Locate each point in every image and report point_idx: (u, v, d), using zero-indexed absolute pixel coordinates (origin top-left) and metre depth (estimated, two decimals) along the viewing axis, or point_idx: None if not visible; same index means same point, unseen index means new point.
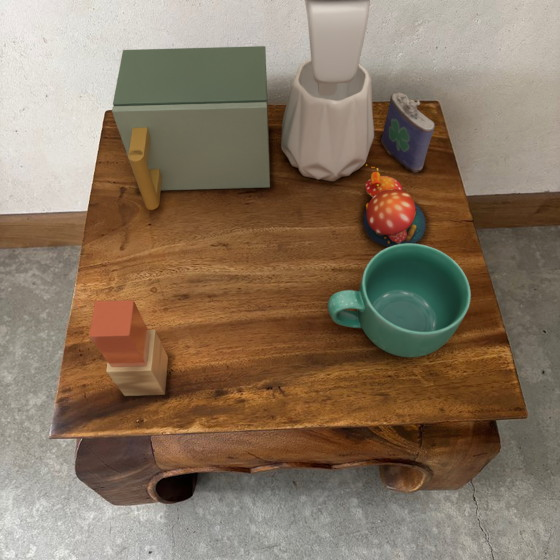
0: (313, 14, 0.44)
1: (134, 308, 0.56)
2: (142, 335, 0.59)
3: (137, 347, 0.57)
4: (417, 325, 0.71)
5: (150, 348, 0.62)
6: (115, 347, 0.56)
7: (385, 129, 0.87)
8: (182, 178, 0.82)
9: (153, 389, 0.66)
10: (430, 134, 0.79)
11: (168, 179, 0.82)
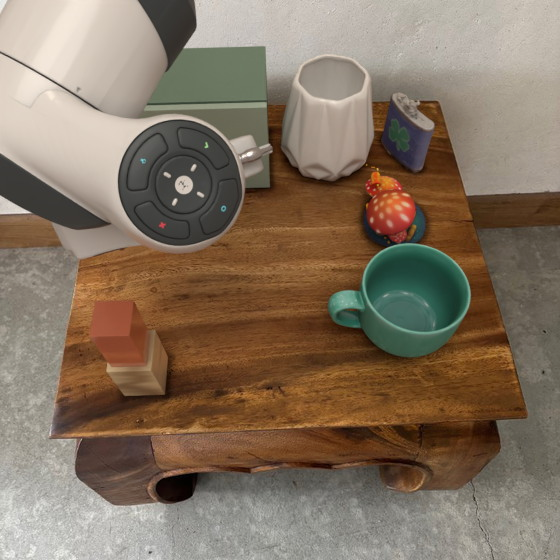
0: None
1: (134, 308, 0.56)
2: (142, 335, 0.59)
3: (137, 347, 0.57)
4: (417, 325, 0.71)
5: (150, 348, 0.62)
6: (115, 347, 0.56)
7: (385, 129, 0.87)
8: None
9: (153, 389, 0.66)
10: (430, 134, 0.79)
11: None
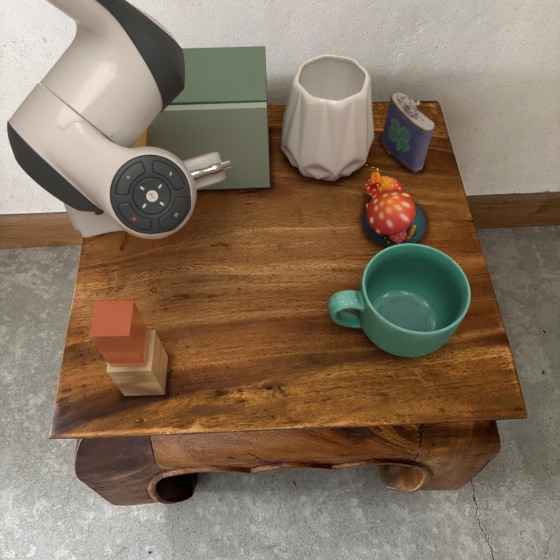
0: None
1: (134, 308, 0.56)
2: (142, 335, 0.59)
3: (137, 347, 0.57)
4: (417, 325, 0.71)
5: (150, 348, 0.62)
6: (115, 347, 0.56)
7: (385, 129, 0.87)
8: None
9: (153, 389, 0.66)
10: (430, 134, 0.79)
11: None
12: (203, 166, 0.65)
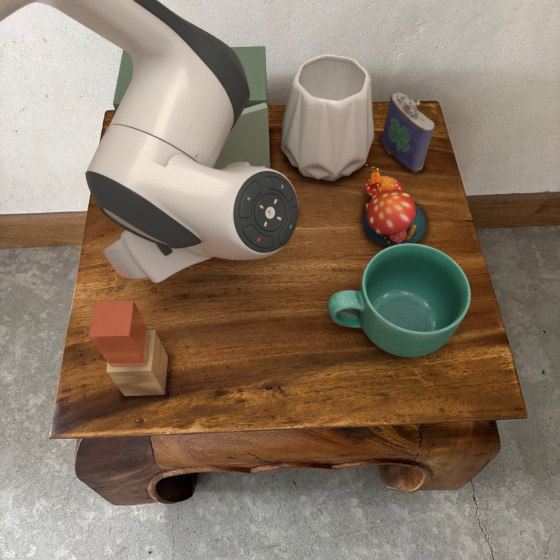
0: (118, 245, 0.58)
1: (134, 308, 0.56)
2: (142, 335, 0.59)
3: (137, 347, 0.57)
4: (417, 325, 0.71)
5: (150, 348, 0.62)
6: (115, 347, 0.56)
7: (385, 129, 0.87)
8: None
9: (153, 389, 0.66)
10: (430, 134, 0.79)
11: None
12: None
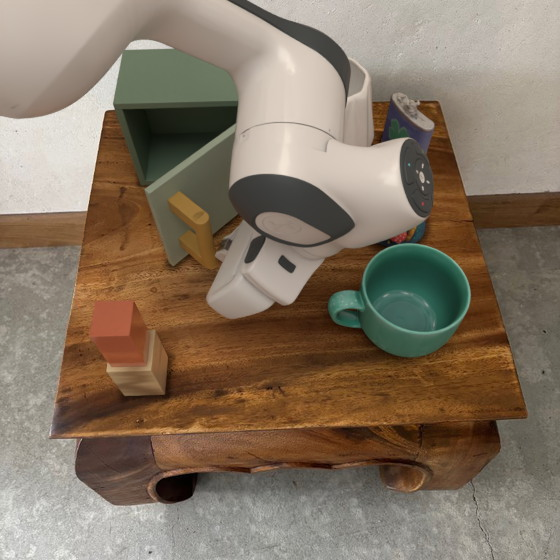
0: (238, 284, 0.55)
1: (134, 308, 0.56)
2: (142, 335, 0.59)
3: (137, 347, 0.57)
4: (417, 325, 0.71)
5: (150, 348, 0.62)
6: (115, 347, 0.56)
7: (385, 129, 0.87)
8: None
9: (153, 389, 0.66)
10: (430, 134, 0.79)
11: (196, 235, 0.77)
12: None
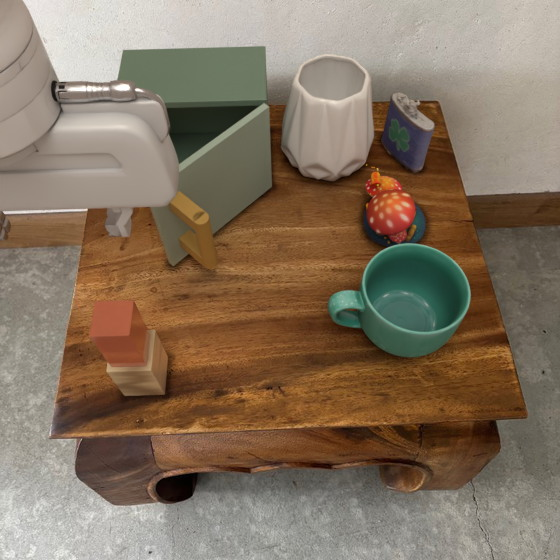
0: None
1: (134, 308, 0.56)
2: (142, 335, 0.59)
3: (137, 347, 0.57)
4: (417, 325, 0.71)
5: (150, 348, 0.62)
6: (115, 347, 0.56)
7: (385, 129, 0.87)
8: None
9: (153, 389, 0.66)
10: (430, 134, 0.79)
11: (196, 235, 0.77)
12: None
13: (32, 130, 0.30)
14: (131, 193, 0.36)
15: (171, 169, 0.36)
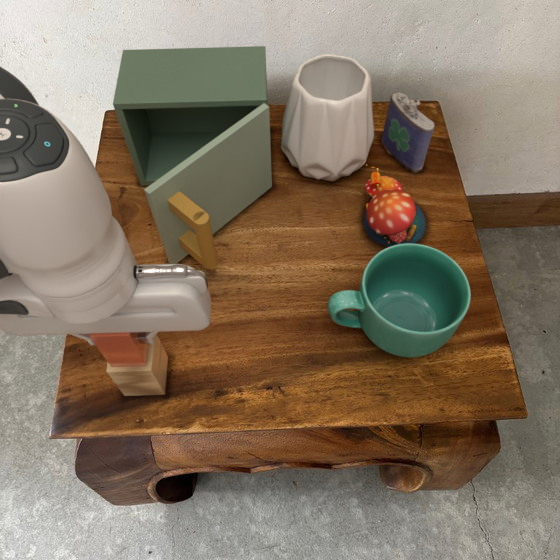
0: None
1: None
2: None
3: (137, 347, 0.57)
4: (417, 325, 0.71)
5: (150, 348, 0.62)
6: (115, 347, 0.56)
7: (385, 129, 0.87)
8: None
9: (153, 389, 0.66)
10: (430, 134, 0.79)
11: (196, 235, 0.77)
12: None
13: (122, 301, 0.47)
14: (180, 324, 0.53)
15: (207, 308, 0.53)
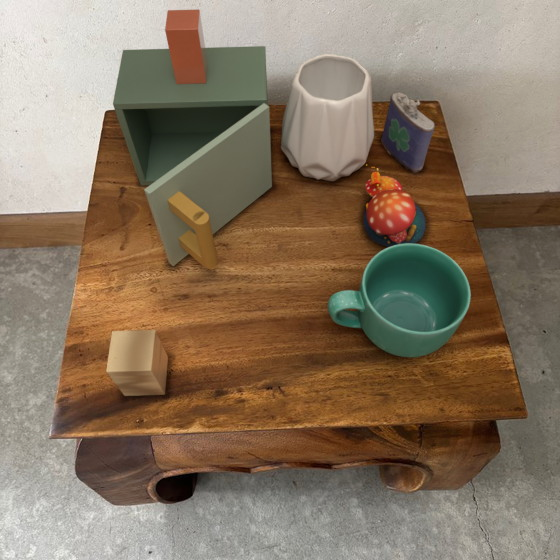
0: None
1: (199, 17, 0.68)
2: (203, 50, 0.71)
3: (201, 52, 0.69)
4: (417, 325, 0.71)
5: (150, 348, 0.62)
6: (183, 50, 0.69)
7: (385, 129, 0.87)
8: None
9: (153, 389, 0.66)
10: (430, 134, 0.79)
11: (196, 235, 0.77)
12: None
13: None
14: None
15: None
